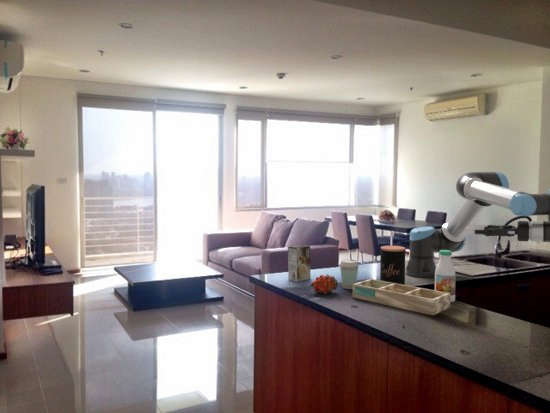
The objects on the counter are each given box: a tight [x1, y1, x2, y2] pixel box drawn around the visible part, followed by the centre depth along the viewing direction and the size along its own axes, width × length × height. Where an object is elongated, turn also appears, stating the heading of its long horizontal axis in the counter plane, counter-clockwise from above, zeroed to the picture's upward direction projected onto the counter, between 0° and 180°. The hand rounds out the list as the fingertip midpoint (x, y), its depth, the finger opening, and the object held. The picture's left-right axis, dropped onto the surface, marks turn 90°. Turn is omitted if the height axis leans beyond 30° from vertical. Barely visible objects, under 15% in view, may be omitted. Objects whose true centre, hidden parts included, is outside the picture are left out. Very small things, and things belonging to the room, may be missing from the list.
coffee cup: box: [339, 258, 360, 290], centre depth 211 cm, size 8×8×12 cm
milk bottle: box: [434, 250, 456, 303], centre depth 189 cm, size 8×8×20 cm
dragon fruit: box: [310, 274, 339, 295], centre depth 202 cm, size 8×8×12 cm
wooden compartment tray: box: [351, 278, 451, 316], centre depth 187 cm, size 14×35×6 cm, turn 45°
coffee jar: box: [379, 245, 406, 285], centre depth 210 cm, size 11×11×18 cm
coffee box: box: [287, 244, 311, 282], centre depth 228 cm, size 9×6×16 cm
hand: (467, 229), depth 184 cm, fingers open, 13 cm apart
